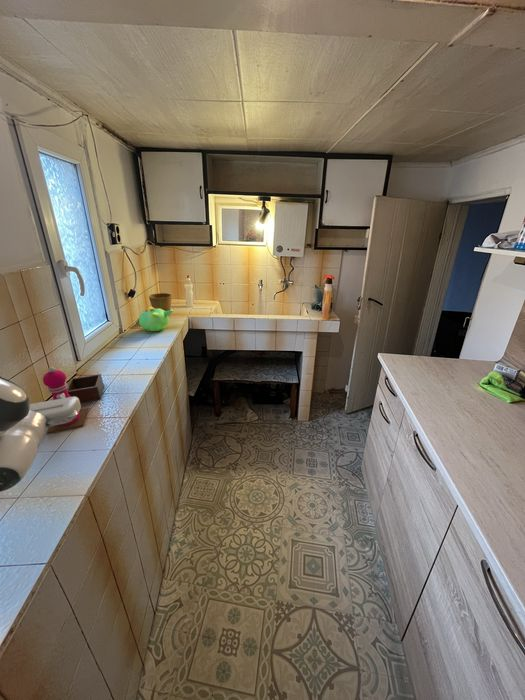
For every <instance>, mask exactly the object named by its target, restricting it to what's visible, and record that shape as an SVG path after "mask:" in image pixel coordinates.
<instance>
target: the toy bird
mask: <svg viewBox="0 0 525 700" xmlns="http://www.w3.org/2000/svg"><path fill="white" fill-rule="evenodd" d="M173 312H174V310H173V309H170V310H169V311H164V310H163V309H160V308H153V307H152V305H150V306H149V305H148V308H146V309H145V310H143V311H142V312H140V314H139V317H138V323H139V326H140V327H141V328H142V329H143V330H144V331H146V332H158V331H162V330H163V329H165V327H167V325H168V324H169V320H170V315H171V314H172V313H173ZM168 315H169V317H168Z"/></svg>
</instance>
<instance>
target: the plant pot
mask: <svg viewBox="0 0 525 700" xmlns="http://www.w3.org/2000/svg"><path fill="white" fill-rule="evenodd" d="M148 298H149V299H148V300H149V302H150V306H151V307H153V308H160V309H163V310H164V311H169V310H172V309H171V308H172V299H173V298H172V294H171V293H168V292H157V293H152V294H149V295H148ZM168 317H169V318H170V315H168Z"/></svg>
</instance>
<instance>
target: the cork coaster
mask: <svg viewBox="0 0 525 700" xmlns="http://www.w3.org/2000/svg"><path fill="white" fill-rule="evenodd" d="M88 411H89V408H88V407H86V408H85V407H84V408H80V411H79V415H80V417H79V419H78V420H77V421H75V422H74V423H71V424H68V425H60V424H59V425H54V426H49V429H48V431H47V433H46V435H48V434H51V433H56V432H62V431H66V430H71V429H76V428H80V427H84V424H85V421H86V418H87V414H88Z"/></svg>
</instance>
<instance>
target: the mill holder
mask: <svg viewBox="0 0 525 700" xmlns="http://www.w3.org/2000/svg"><path fill="white" fill-rule="evenodd" d="M104 387H105V385H104V379H103V377H102V374H101V373H99V374H92V375H86V376H80V377H79V376H78V377H73V378H70V379H69V381H68V383H67V392H68V394H69V395H70V396H71V397H74V396H75V397H77V398H79V401H80V404H81V403H86V402H87V403H88V402H92V401H93V402H94V401H98V400H101V399H102V396H103V391H104Z"/></svg>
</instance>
